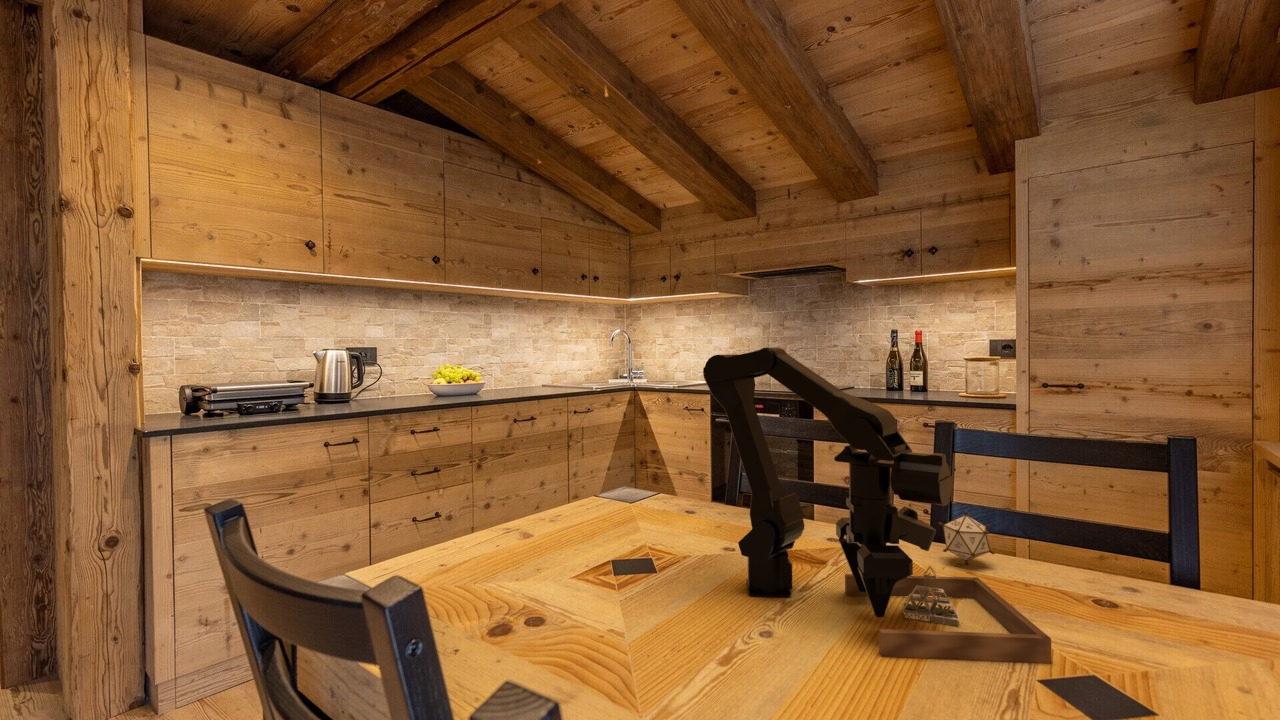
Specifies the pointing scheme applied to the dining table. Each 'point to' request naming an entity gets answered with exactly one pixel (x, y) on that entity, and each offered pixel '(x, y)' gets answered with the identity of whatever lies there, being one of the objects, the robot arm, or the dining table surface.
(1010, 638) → the wooden arch
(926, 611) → the house of cards
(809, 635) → the dining table surface
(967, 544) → the game die
